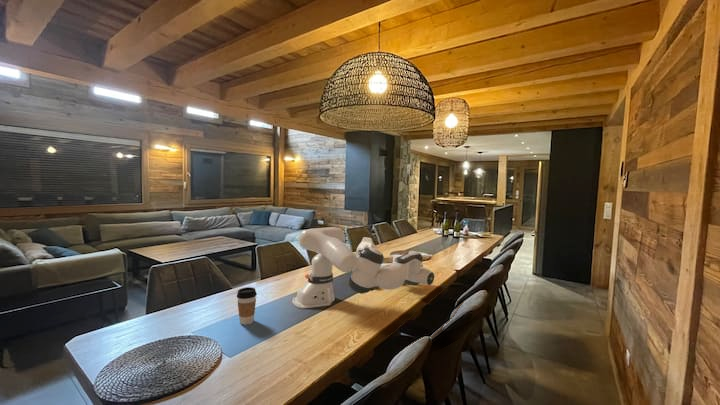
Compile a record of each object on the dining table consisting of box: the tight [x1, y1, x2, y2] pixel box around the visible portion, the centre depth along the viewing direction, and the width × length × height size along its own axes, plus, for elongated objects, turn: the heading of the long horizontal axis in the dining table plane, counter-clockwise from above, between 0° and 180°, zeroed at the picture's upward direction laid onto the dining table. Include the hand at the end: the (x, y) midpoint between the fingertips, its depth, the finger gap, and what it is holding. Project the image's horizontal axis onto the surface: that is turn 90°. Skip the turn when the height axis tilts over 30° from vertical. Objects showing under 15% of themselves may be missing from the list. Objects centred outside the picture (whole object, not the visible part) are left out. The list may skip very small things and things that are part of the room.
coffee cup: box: [236, 287, 257, 326], centre depth 135 cm, size 8×8×15 cm
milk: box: [355, 236, 378, 254], centre depth 206 cm, size 12×12×26 cm
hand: (398, 265), depth 193 cm, fingers open, 8 cm apart
